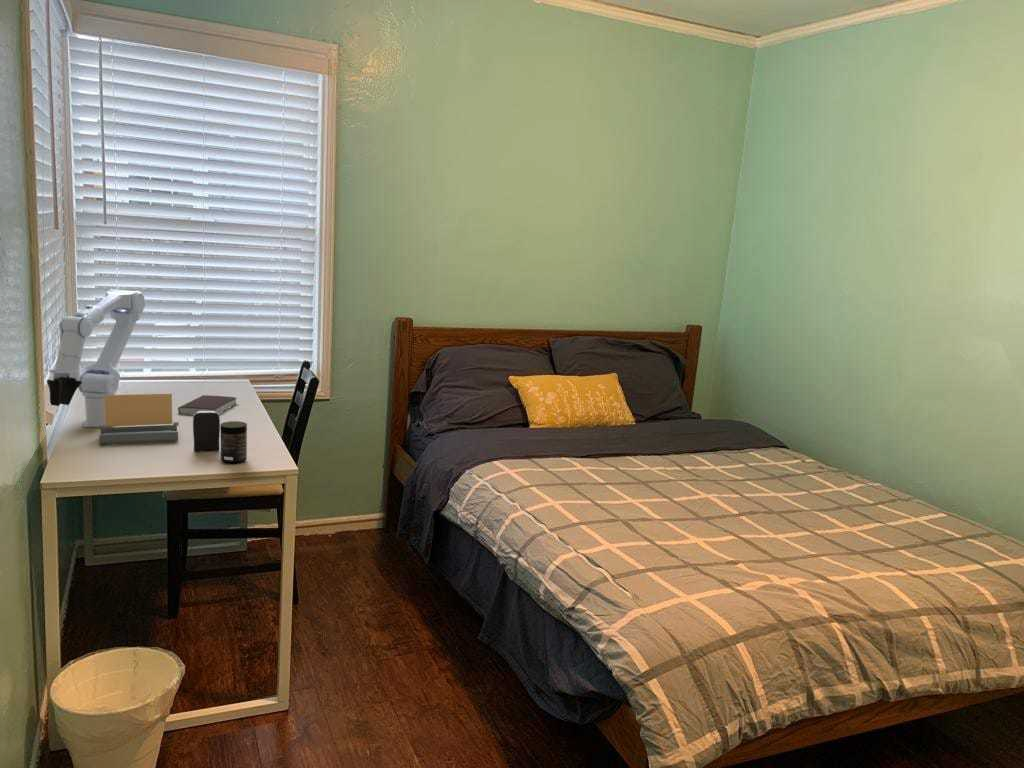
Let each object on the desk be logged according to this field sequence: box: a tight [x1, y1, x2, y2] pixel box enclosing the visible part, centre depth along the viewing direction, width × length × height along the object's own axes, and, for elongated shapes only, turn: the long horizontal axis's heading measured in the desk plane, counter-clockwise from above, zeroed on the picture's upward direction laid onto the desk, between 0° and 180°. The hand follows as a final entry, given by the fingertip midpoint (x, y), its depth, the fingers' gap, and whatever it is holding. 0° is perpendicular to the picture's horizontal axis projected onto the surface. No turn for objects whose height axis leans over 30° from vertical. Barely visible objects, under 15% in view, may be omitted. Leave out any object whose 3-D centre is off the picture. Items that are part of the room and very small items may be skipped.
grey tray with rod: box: [97, 421, 180, 447], centre depth 221 cm, size 9×21×4 cm, turn 115°
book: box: [177, 394, 238, 415], centre depth 260 cm, size 12×19×3 cm, turn 179°
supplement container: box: [220, 420, 248, 466], centre depth 207 cm, size 7×7×10 cm
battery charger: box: [192, 411, 221, 453], centre depth 215 cm, size 7×4×11 cm, turn 111°
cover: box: [104, 393, 173, 428], centre depth 224 cm, size 9×18×1 cm
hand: (59, 404), depth 214 cm, fingers open, 7 cm apart
